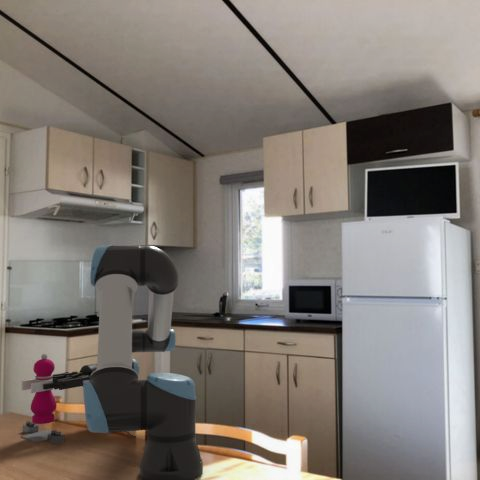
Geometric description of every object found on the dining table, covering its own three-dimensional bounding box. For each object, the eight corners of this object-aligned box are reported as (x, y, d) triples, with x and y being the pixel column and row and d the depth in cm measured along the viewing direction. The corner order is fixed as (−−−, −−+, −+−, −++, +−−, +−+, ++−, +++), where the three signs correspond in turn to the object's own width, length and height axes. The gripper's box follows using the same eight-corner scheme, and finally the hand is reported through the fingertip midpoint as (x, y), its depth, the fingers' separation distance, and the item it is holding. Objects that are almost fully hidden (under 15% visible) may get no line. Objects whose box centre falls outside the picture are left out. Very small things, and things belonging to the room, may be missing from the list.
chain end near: (64, 441, 160) (64, 431, 160) (54, 443, 158) (54, 433, 158) (57, 438, 163) (57, 429, 163) (47, 441, 160) (47, 431, 161)
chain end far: (38, 432, 170) (38, 422, 170) (29, 434, 168) (29, 424, 168) (32, 429, 173) (32, 420, 173) (22, 431, 170) (22, 422, 171)
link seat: (64, 436, 165) (64, 434, 165) (36, 442, 159) (36, 441, 159) (49, 430, 171) (49, 429, 172) (21, 436, 165) (21, 435, 165)
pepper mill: (31, 419, 168) (32, 352, 169) (56, 417, 170) (57, 351, 171) (29, 425, 161) (30, 356, 162) (55, 423, 163) (56, 354, 165)
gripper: (111, 391, 173) (42, 404, 156) (80, 383, 185) (12, 395, 168) (111, 366, 174) (42, 377, 157) (80, 361, 186) (12, 370, 169)
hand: (26, 386), depth 162 cm, fingers closed on pepper mill, 5 cm apart
